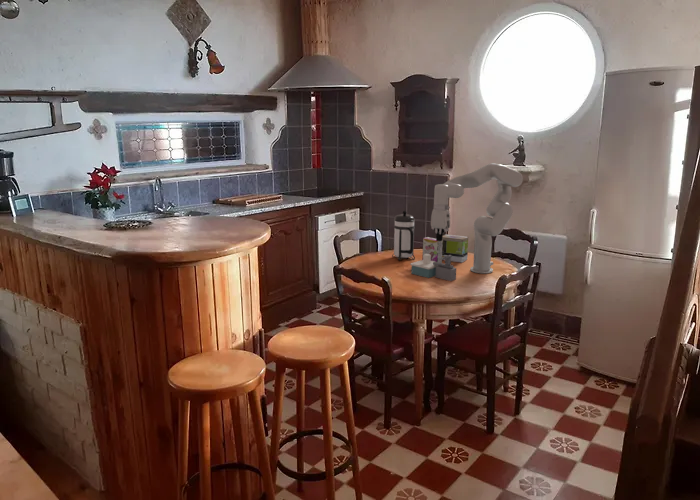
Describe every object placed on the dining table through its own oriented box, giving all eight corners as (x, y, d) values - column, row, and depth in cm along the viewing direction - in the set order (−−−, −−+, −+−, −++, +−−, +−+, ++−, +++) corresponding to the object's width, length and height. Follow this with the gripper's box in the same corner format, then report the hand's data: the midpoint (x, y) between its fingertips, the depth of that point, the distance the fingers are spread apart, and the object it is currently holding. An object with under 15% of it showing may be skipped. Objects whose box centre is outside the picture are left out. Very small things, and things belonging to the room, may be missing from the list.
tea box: (467, 259, 339) (469, 236, 336) (461, 263, 331) (462, 239, 327) (445, 256, 347) (446, 233, 343) (438, 259, 339) (439, 236, 335)
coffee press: (386, 259, 339) (387, 211, 332) (398, 254, 352) (399, 208, 345) (411, 263, 330) (413, 214, 323) (422, 257, 343) (424, 210, 336)
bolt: (436, 263, 305) (437, 252, 304) (454, 267, 297) (455, 255, 296) (431, 264, 302) (431, 253, 300) (449, 269, 294) (450, 257, 292)
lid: (424, 260, 316) (424, 250, 315) (443, 265, 307) (443, 254, 306) (410, 265, 307) (410, 254, 306) (429, 269, 298) (429, 258, 297)
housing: (424, 269, 317) (424, 259, 315) (459, 277, 300) (460, 267, 299) (411, 273, 308) (411, 263, 307) (446, 282, 292) (447, 271, 291)
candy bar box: (421, 264, 327) (422, 238, 323) (426, 263, 330) (427, 236, 327) (437, 268, 320) (438, 240, 316) (442, 266, 323) (443, 239, 319)
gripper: (456, 208, 291) (454, 241, 296) (433, 205, 302) (432, 237, 306) (448, 209, 286) (446, 244, 290) (425, 206, 296) (423, 239, 301)
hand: (439, 240), depth 298 cm, fingers closed
